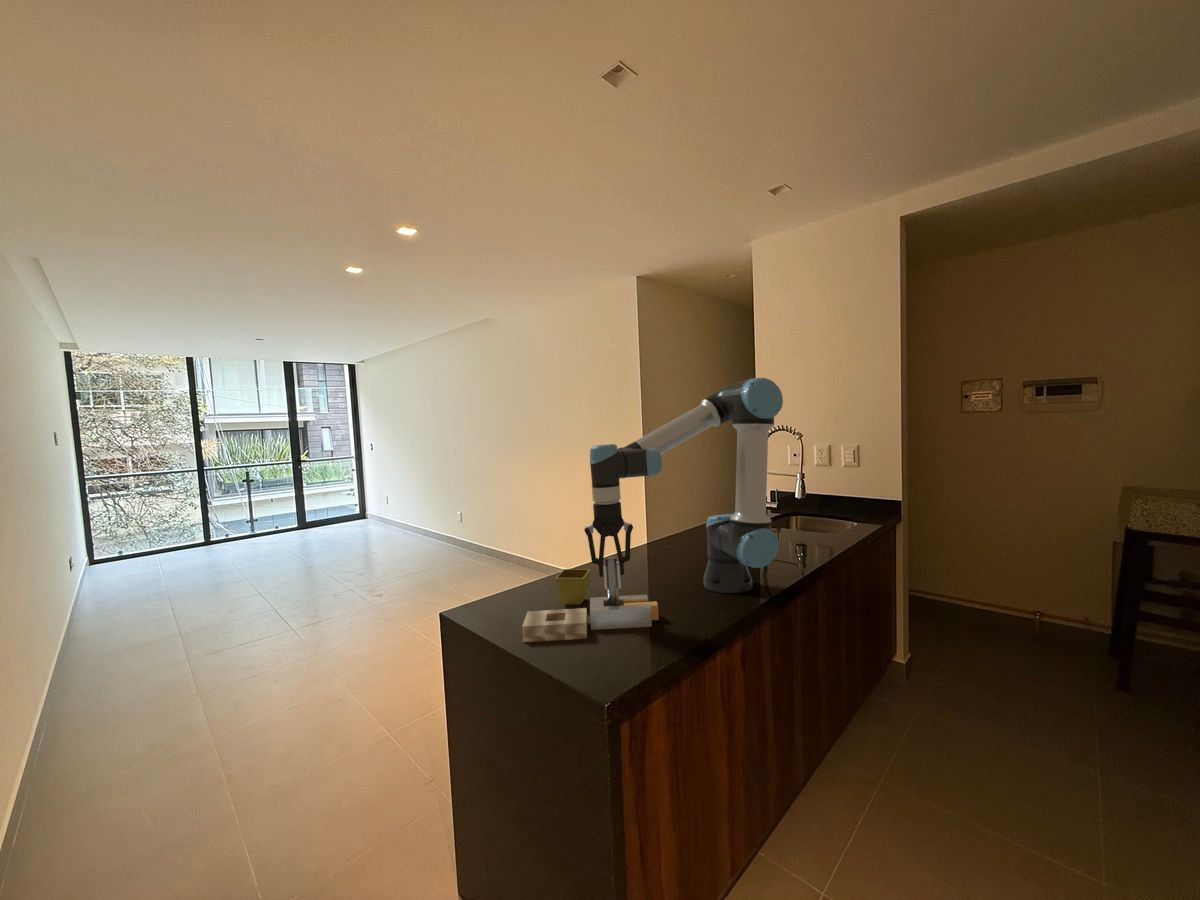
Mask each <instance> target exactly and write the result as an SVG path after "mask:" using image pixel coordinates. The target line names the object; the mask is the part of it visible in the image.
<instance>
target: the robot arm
mask: <svg viewBox="0 0 1200 900" xmlns="http://www.w3.org/2000/svg"><path fill="white" fill-rule="evenodd" d="M783 405H784V399H783V394H782V390H781V389H780V387H779V385H777V384H776V383H775V382H774V381H773V380H772V379H769V378H767V377H766V378H765V377H752V378H749V379H745V380H741V381H736V382H735V381H734V382H731V383H730V384H727V385H725V386H724V387H722V388H721V389H719V390H717V391H716V392H714V393H712V394H711V395H709V396H707V397H705V398H704V399H702V400H701V401H700V403H699V405H698V406H696V407H694V408H692V409H691V410H688V411H687V412H685V413H683V414H681V415H679V416H677V417H676V418H674V419H673V420H670V421H669V422H667V423H665V424H663V425H662V426H660V427H658V428H656V429H654V430H653V431H650V432H648V434H647V433H646V435H643V436H642V437H639V438H638V439H637V440H634V441H633V442H631V443H629V444H628V445H625V446H624V447H618V445H617V444H614V443H613V444H612V443H611V444H610V443H609V444H608V443H607V444H596V445H592V446H591V447H590V449H589V464H590V476H591V492H592V493H591V495H592V501H593V502H594V503H593V505H592V507H593V521H592V523H591V524H590V525H588V526H585V527H584V533H585V534H586V537H587V539H588V545H589V546H588V547H589V553H590V558H591V563H592V564H595V565H598V573H599V578H603V584H604V590H605V591H606V590H608V589H607V575H606V563H605V562H604V560H605V559H604V556H605V547H606V538H607V537H613V541H614V545H615V549H616V554H617V558H618V559H617V560H618V561H616V562H617V578H618V590H620V589H622V584H621V583H622V582H621V576H624V575H625V566H624V565H625V563H627V562H629V561H631V538H632V535H631V534H632V531H633V528H634V526H633V524H632V523H630V522H629V523H628V522H625V520H624V518H623V515H622V502H621V498H622V497H621V485H620V479H627V478H628V479H629V478H640V477H641V478H642V477H651V476H657V475H659V474H660V473H661V471H662V468H663V459H662V455H664V454H665V453H667V452H668V451H670V450H672V449H674V448H676V447H678V446H679V445H681V444H683V443H685V442H686V441H688V440H690V439H692V438H694V437H695V436H697V435H699V434H700V433H702V432H704V431H706V430H708V429H709V428H711V427H714V428H717V427H720V426H722V425H723V424H726V423H729V422H731V425H732V427H733V428H734V429H735V430H736V431H737V433H736V434H737V435H736V466H735V467H736V470H735V509H734V512H733V513H725V514H715V515H710V516H708V517H707V519H706V527H705V529H706V539H707V541H706V543H707V565H706V567H705V568H706V569H705V572H704V574H703V586H704V588H705V589H707V590H709V591H712V592H716V593H721V594H739V593H745V592H748V591H750V590H752V588H753V579H752V576H751V573H750V570H749V568H748V567H750V568H754V569H759V568H764V567H767V566H768V565H771V562H772V561H773V560H775V558H776V556H777V555H778V552H779V549H780V547H779V546H780V543H779V539H778V536H776V534H775V533H774V531H772V519H771V518H770V517H769V516H768V515H767V494H768V493H767V488H768V487H767V485H768V484H767V483H768V482H767V481H768V451H769V450H768V448H769V446H768V445H769V431H770V430H771V429H772V428H773V427H774V426H775V417H776V416H777V415H778V414H779V412H780V411H781V410H782V408H783ZM622 528H623V530H624V531H625V539H624V540H625V541H624V542H625V543H624V544H625V545H624V548H625V549H624V556H623V553H622V548H621V543H620V539H619V535H618V534H619V532H620V531H621V530H622ZM594 529H595V531H596V532H597V533H598V534H599V535H600V538H599V550H598V551H599V552H598V557H597V556H596V548H595V543H594V538H593V534H594Z"/></svg>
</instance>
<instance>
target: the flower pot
mask: <svg viewBox="0 0 1200 900" xmlns="http://www.w3.org/2000/svg"><path fill="white" fill-rule="evenodd" d="M590 574H591V569H590V568H588V569H586V568H582V569H581V568H564V569H562V570H561V572H559V574H558V575H557V576H556V577H555V581H556V587H557V593H558V595H559V598H560V599H561V601H562V603H563V604H564V605H573V606H575V605H577V606H580V605H582V604H583V603H584V600H585V598H586V597H587V595H588V591H589V589H590V588H589V587H590V577H591V575H590Z"/></svg>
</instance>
